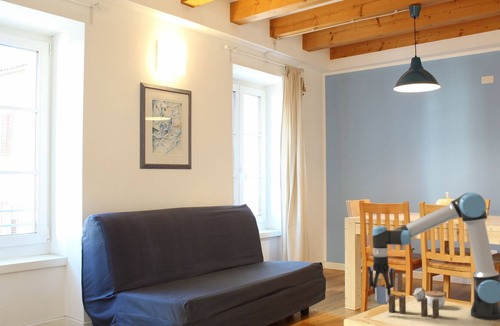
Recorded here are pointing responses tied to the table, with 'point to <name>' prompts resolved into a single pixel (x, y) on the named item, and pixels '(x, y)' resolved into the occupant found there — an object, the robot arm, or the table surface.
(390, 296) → the domino
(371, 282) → the robot arm
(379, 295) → the domino
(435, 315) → the domino
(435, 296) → the lidded jar
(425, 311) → the domino
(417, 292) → the game die
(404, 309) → the domino
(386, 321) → the table surface
